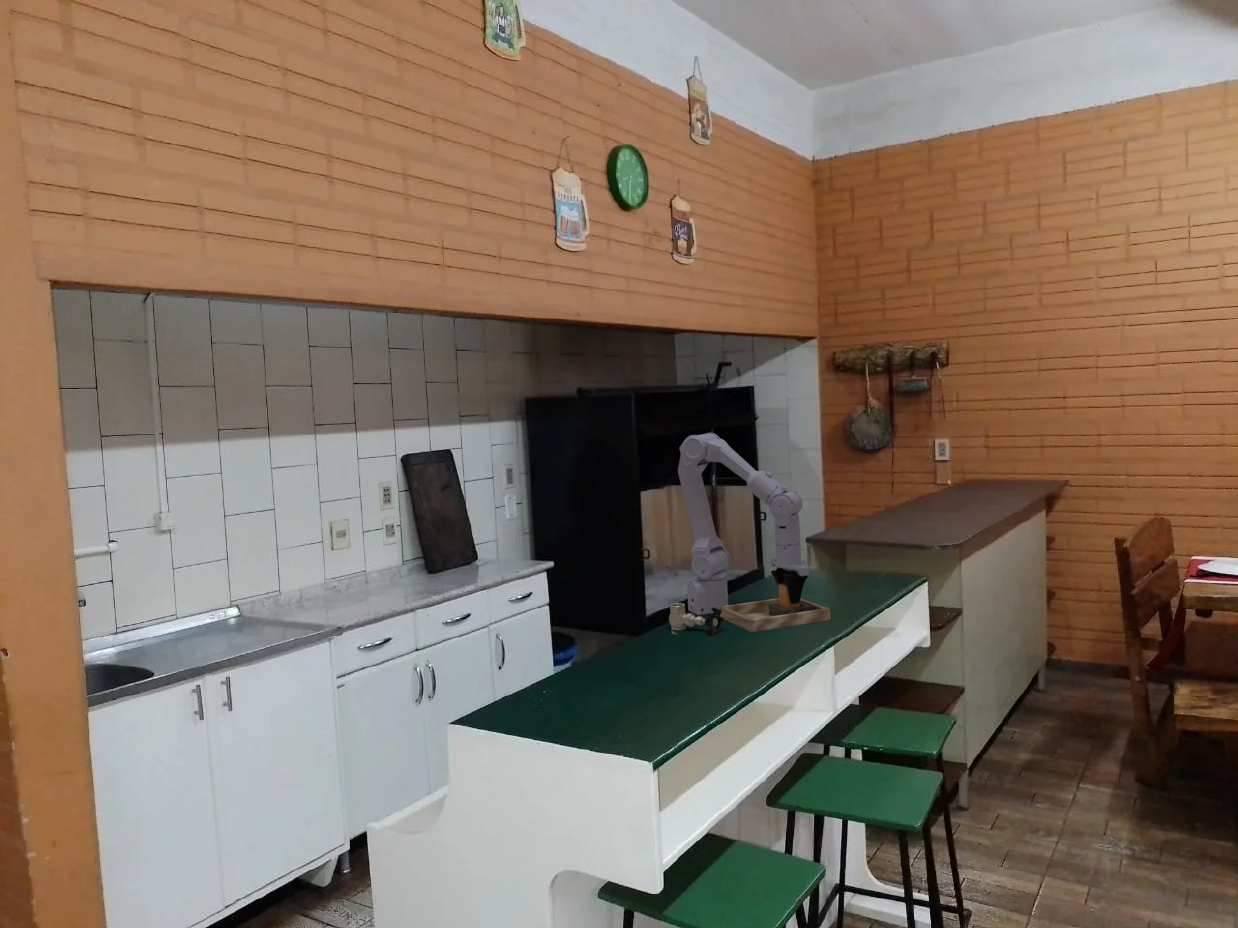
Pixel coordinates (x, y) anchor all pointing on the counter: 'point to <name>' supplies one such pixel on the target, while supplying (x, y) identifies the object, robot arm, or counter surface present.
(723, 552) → the robot arm
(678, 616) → the valve
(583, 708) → the counter surface
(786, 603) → the connector
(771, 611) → the walled box
